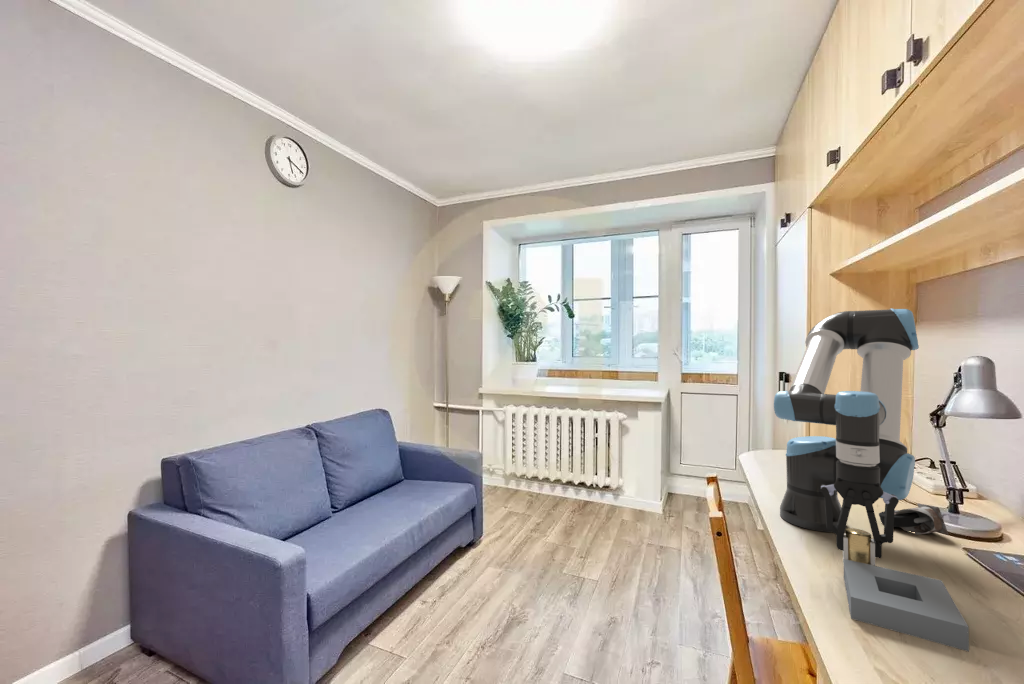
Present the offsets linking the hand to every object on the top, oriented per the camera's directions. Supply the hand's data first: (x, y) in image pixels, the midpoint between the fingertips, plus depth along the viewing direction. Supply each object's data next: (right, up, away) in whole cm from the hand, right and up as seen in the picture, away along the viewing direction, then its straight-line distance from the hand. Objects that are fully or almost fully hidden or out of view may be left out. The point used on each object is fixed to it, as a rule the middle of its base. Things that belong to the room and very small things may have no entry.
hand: (858, 567), depth 94 cm
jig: (-4, 0, -14) cm, 15 cm away
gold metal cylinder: (0, 0, 0) cm, 0 cm away
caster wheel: (+29, 0, +19) cm, 35 cm away
